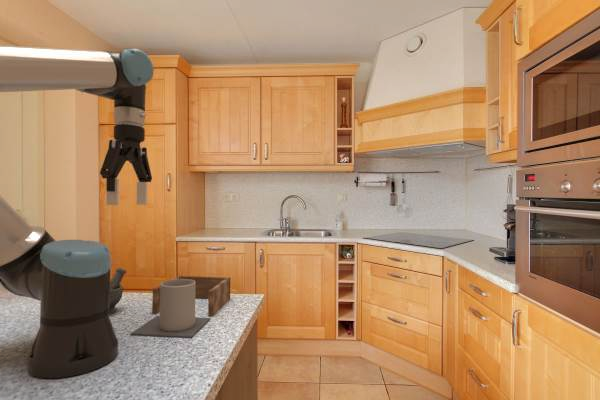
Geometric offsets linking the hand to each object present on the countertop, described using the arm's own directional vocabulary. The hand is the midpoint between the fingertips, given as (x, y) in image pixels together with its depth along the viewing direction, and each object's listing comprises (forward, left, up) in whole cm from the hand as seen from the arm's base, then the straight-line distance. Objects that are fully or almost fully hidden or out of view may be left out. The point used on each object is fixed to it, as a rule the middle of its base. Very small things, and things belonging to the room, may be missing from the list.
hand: (128, 204), depth 94 cm
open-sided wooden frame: (+14, -13, -31) cm, 36 cm away
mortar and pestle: (+5, +9, -31) cm, 33 cm away
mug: (-3, -15, -30) cm, 34 cm away
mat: (-4, -15, -31) cm, 34 cm away
